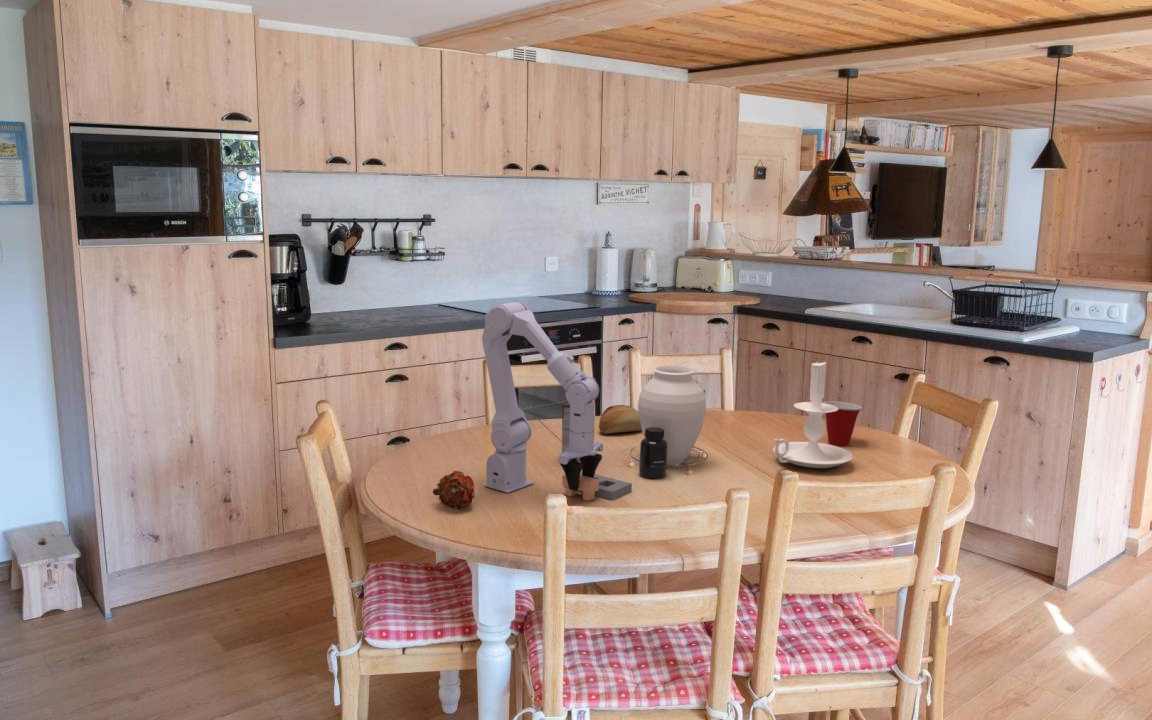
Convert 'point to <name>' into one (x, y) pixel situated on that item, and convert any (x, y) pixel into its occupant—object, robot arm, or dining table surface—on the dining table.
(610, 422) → the bread roll
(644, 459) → the supplement bottle
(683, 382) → the vase
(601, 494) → the gray rectangular slab
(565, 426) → the coffee box
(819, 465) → the candlestick
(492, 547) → the dining table surface
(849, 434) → the plastic cup
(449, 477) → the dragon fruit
